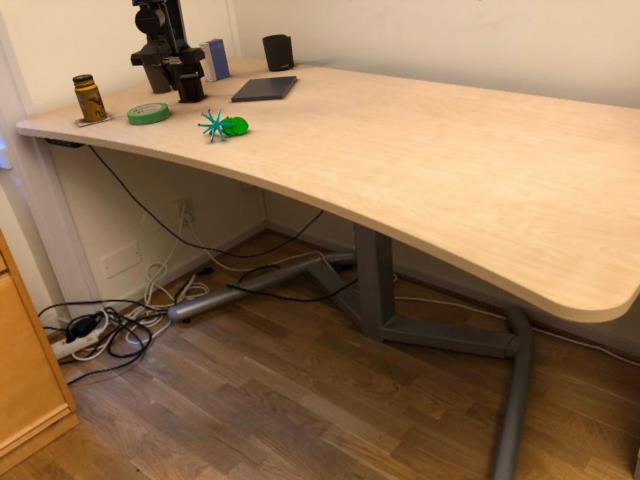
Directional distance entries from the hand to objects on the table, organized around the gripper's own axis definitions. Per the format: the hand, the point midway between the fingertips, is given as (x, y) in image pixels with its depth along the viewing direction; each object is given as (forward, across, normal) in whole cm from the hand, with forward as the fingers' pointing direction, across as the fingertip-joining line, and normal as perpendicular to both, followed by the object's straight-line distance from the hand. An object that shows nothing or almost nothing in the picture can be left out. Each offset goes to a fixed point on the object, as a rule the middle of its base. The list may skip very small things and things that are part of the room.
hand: (176, 90), depth 154 cm
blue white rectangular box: (+8, -10, +41) cm, 43 cm away
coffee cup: (+8, -23, +27) cm, 36 cm away
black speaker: (+8, +8, +52) cm, 53 cm away
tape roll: (+8, -10, 0) cm, 13 cm away
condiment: (+8, -28, -1) cm, 29 cm away
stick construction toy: (+8, +20, -14) cm, 25 cm away
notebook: (+7, +14, +25) cm, 29 cm away
